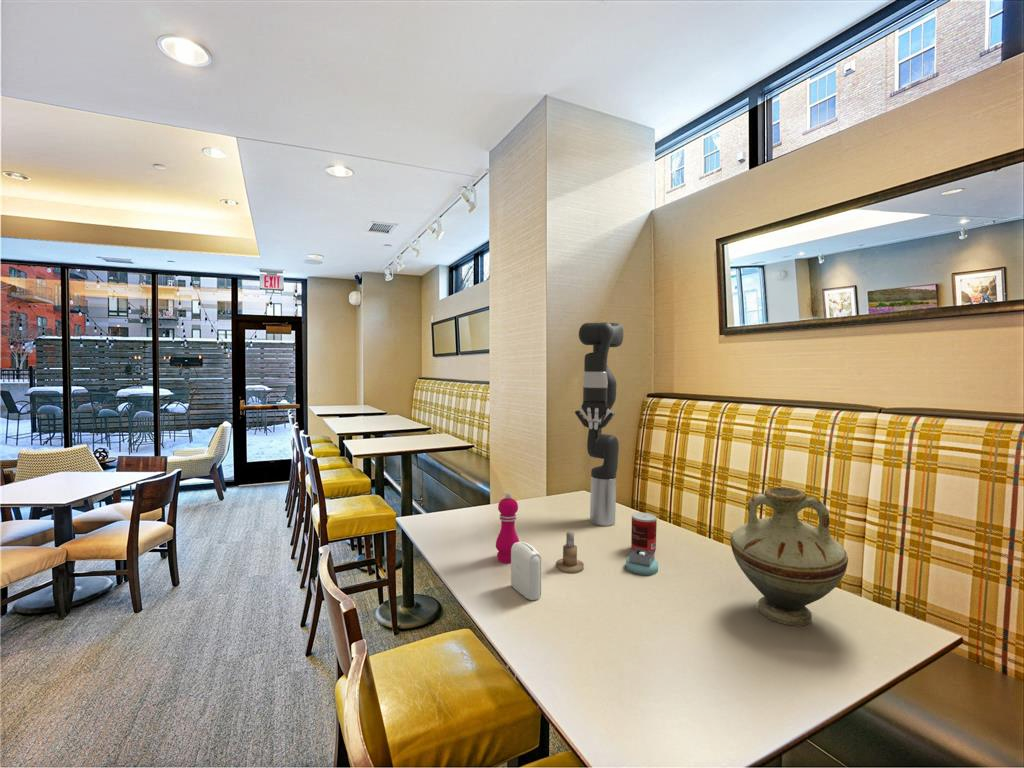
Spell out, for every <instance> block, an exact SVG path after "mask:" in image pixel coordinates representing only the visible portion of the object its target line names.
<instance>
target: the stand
mask: <svg viewBox="0 0 1024 768" xmlns="http://www.w3.org/2000/svg"><path fill="white" fill-rule="evenodd" d="M565 543H566V544H564V545H562V558H560V559H558V560H557V561H555V568H556V570H558V571H560V572H563V573H566V574H567V573H568V574H577V573H578V574H579V573H581V572H582V571H584V567H585V566H584V565H585V564H584V562H583V561H582V560H580V559H578V546H577V545H575V533H574V531H567V532H566V539H565Z"/></svg>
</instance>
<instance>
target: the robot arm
mask: <svg viewBox="0 0 1024 768" xmlns="http://www.w3.org/2000/svg"><path fill="white" fill-rule="evenodd" d="M578 338H579V341H580V342H581V344H583V345H585V346H592V352H588V353H586V354H585V355H584V364H583V366H584V370H583V373H584V374H583V378H582V379H583V380H582V383H583V384H582V386H583V387H582V390H583V391H582V404H581V408H579V409H578V410H575V412H574V414H575V415H576V417H577V418H578V420H579V421H580V422H581V424H582V425H583V427H585V428H588V433H587V440H586V441H587V443H586V451H587V454H588V455H589V457H591V458H593V459H594V458H595V459H602V460H603V463H602V465H599V466H596V467H593V468H592V469H591V472H590V474H591V475H590V476H591V477H590V499H589V500H590V502H589V503H590V508H589V509H590V510H589V518H590V523H592V524H594V525H597V526H605V527H607V526H608V527H609V526H613V525H615V524H616V501H617V500H616V499H617V498H616V496H617V495H616V494H617V471H618V467H619V466H618V464H619V463H618V462H619V451H620V447H619V446H620V444H619V440H618V438H617V436H615V435H614V434H604V433H602V429H603V428H606V427H607V425H608V424H609V423H610V422H611V420H612V419H613V418H614V417H615V416H616V413H615V412H614V411H612V410H611V409H612V408H613V406H614V404H615V402H616V398H617V385H618V384H617V380H616V378H615V376H614V374H613V372H612V370H611V369H610V368H609V366H608V357H609V356H608V355H609V351H610V348H618V347H621V346H622V344H623V340H624V327H623V325H622V324H620V323H618V322H607V321H606V322H604V321H603V322H602V321H601V322H585V323H583V324H581V326H580V327H579V330H578ZM586 417H587V418H586Z"/></svg>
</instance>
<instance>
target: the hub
mask: <svg viewBox="0 0 1024 768" xmlns="http://www.w3.org/2000/svg"><path fill="white" fill-rule="evenodd" d="M639 554H640V555H645V553H644V552H639ZM625 568H626V570H628V571H629V572H630V573H633V574H635V575H641V576H653V575H656V574H657V573H658V572H659V562H658V560H656V558H654V561H653V563H652V564H651V566H650V567H646V566H641V565H637V564H632V563H629V556H627V557H626V559H625Z"/></svg>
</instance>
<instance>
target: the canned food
mask: <svg viewBox="0 0 1024 768" xmlns="http://www.w3.org/2000/svg"><path fill="white" fill-rule="evenodd" d="M657 521H658V520H657V516H656V515H655V514H653V513H649V512H635V513H633V514H631V537H630V538H631V539H630V540H631V541H630V543H631V545H630V546H631V551H632V550H633V549H634V548H639V549H644V550H649V551H654V552H655V553H656V549H657V527H658V525H657V524H658V523H657Z"/></svg>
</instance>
